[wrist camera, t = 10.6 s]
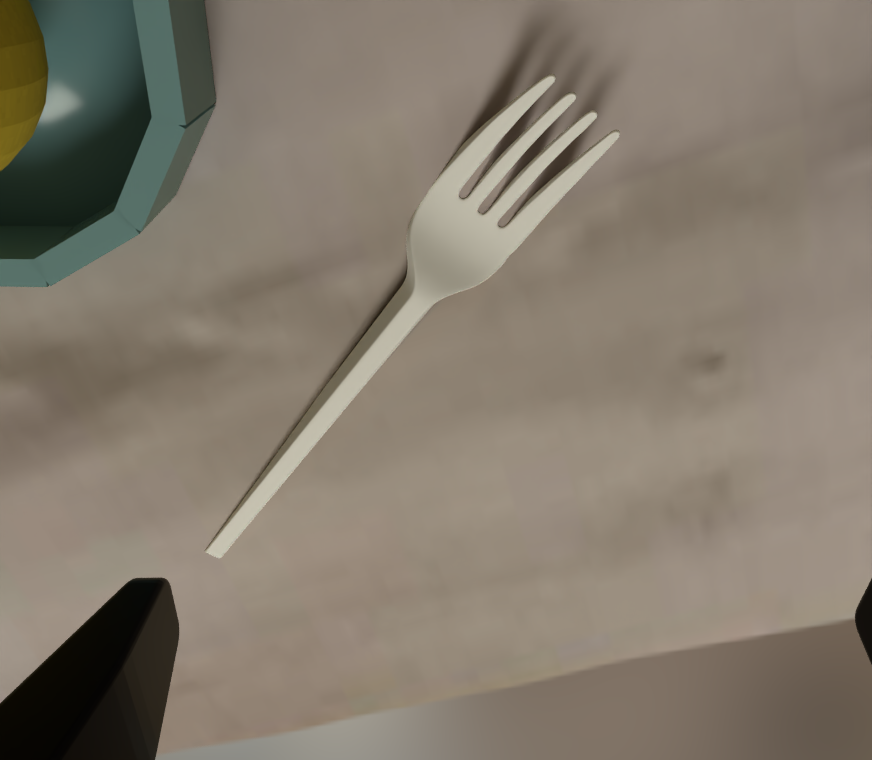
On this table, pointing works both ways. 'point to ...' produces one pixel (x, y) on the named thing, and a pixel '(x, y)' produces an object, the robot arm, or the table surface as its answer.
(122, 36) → the bowl
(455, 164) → the fork
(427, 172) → the table surface
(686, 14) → the table surface
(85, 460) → the table surface
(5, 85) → the lemon
